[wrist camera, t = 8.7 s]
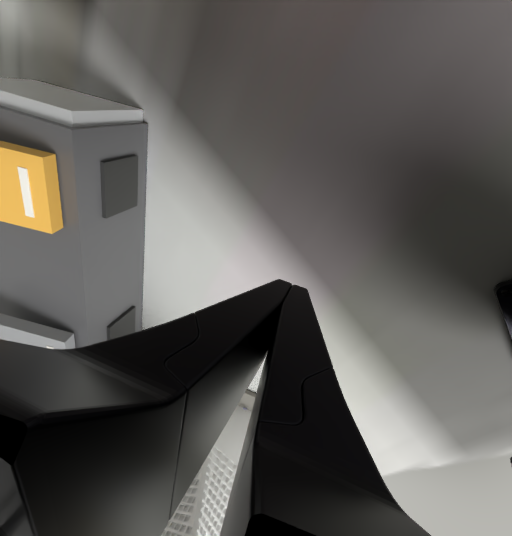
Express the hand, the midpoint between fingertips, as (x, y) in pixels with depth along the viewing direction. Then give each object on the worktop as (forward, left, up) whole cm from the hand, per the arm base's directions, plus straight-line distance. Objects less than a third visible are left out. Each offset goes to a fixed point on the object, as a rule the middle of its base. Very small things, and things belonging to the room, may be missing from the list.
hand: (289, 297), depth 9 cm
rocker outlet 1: (+10, +16, -6) cm, 20 cm away
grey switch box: (+6, +20, -13) cm, 25 cm away
